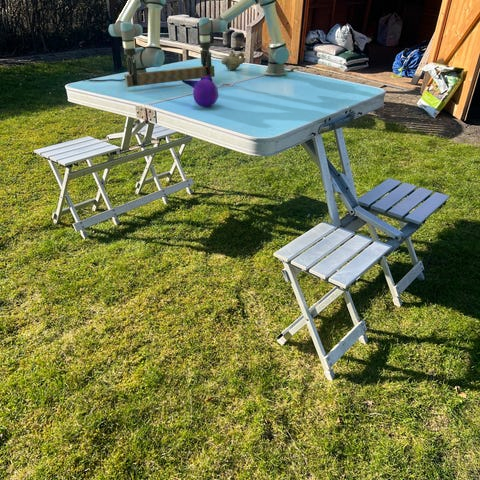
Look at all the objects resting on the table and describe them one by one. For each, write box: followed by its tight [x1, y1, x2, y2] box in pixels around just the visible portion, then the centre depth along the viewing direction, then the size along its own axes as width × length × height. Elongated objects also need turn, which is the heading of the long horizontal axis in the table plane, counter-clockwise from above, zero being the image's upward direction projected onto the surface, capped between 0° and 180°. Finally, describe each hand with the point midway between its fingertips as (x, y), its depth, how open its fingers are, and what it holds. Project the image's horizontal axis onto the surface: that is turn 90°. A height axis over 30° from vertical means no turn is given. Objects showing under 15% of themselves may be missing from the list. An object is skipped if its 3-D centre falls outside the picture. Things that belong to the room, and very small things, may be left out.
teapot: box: [221, 50, 245, 71], centre depth 369 cm, size 21×12×15 cm, turn 120°
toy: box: [181, 75, 219, 108], centre depth 268 cm, size 16×18×27 cm
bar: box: [124, 64, 216, 88], centre depth 319 cm, size 66×5×8 cm, turn 119°
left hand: (134, 84), depth 309 cm, fingers closed on bar, 5 cm apart
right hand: (206, 75), depth 332 cm, fingers closed on bar, 5 cm apart
